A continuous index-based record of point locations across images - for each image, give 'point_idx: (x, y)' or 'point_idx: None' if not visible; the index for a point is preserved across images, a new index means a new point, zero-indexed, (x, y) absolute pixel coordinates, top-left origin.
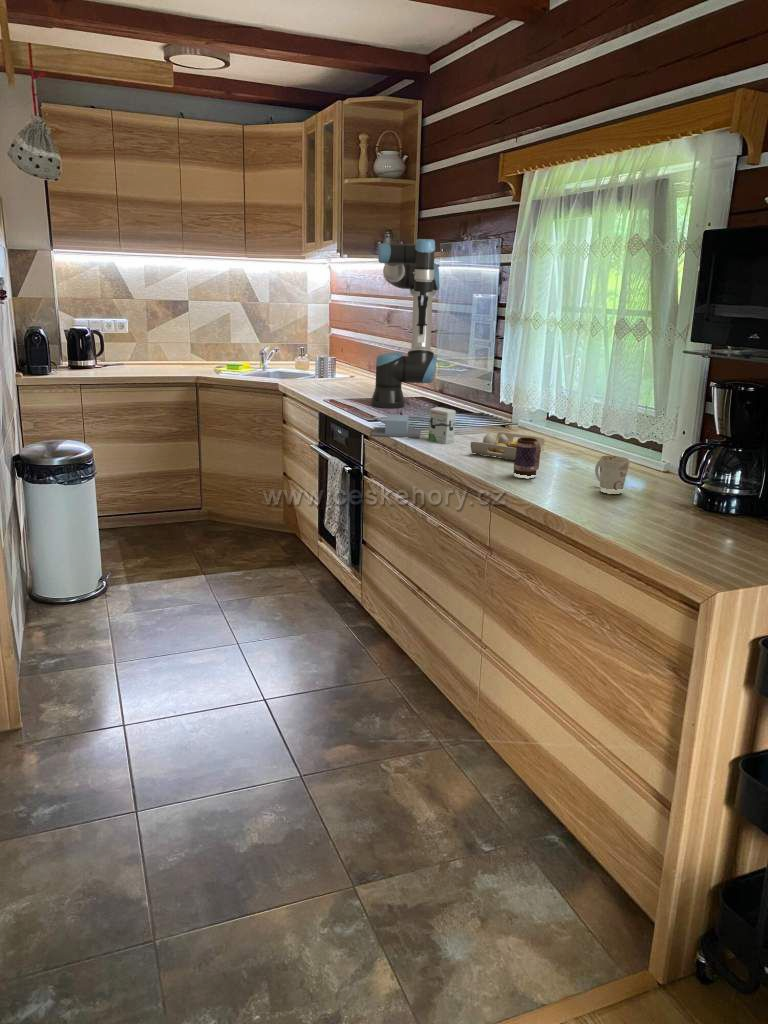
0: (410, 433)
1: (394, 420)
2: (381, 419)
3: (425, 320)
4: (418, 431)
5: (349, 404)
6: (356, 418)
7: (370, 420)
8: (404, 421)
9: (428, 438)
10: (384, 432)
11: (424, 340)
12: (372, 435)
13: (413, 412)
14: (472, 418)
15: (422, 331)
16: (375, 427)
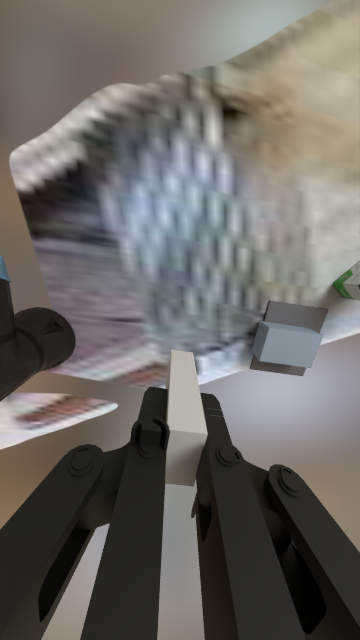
0: (300, 321)
1: (313, 354)
2: None
3: (54, 481)
4: (286, 307)
5: (54, 395)
6: None
7: None
8: (321, 339)
9: (346, 297)
10: None
11: (191, 358)
12: (302, 373)
13: (105, 296)
14: (149, 176)
15: (219, 414)
16: (252, 367)
